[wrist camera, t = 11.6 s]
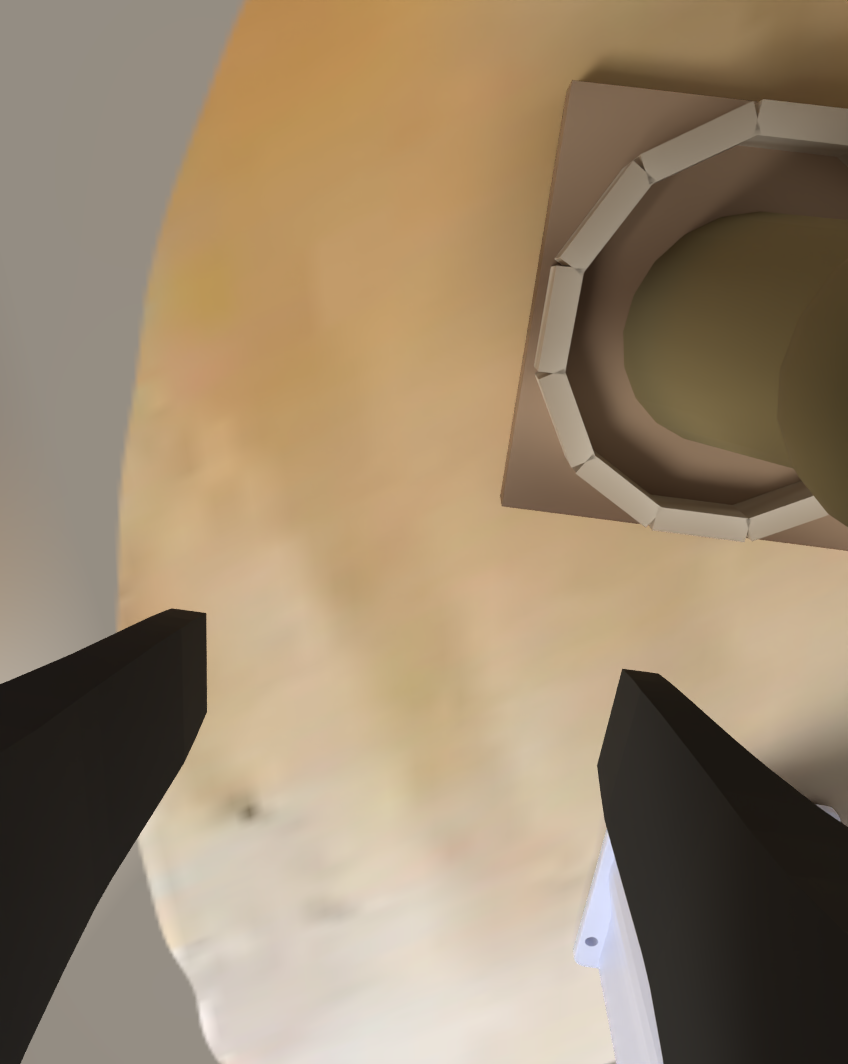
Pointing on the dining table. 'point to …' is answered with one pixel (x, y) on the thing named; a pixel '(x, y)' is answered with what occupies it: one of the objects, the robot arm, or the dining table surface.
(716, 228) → the cork
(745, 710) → the dining table surface
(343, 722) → the dining table surface
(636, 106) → the cup holder
